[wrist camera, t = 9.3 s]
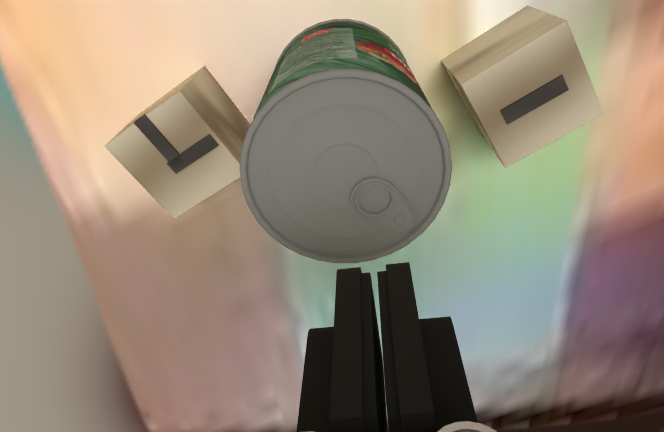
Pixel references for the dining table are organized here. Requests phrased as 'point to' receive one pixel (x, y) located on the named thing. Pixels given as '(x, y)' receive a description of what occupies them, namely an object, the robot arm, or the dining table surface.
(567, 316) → the dining table surface
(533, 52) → the marked block one
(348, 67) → the canned tomato
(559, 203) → the dining table surface
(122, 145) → the marked block two
